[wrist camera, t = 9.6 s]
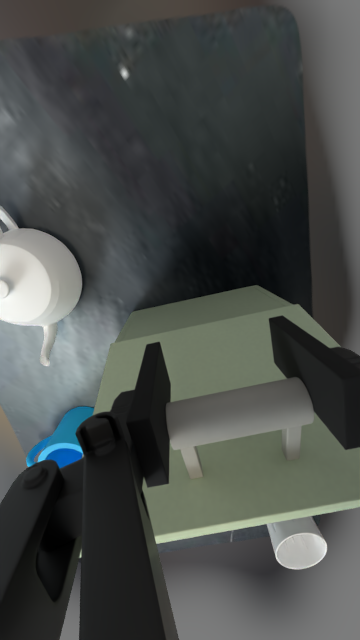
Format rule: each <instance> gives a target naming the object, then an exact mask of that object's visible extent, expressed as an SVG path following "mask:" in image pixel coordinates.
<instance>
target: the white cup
mask: <svg viewBox="0 0 360 640" xmlns="http://www.w3.org/2000/svg"><path fill="white" fill-rule="evenodd" d="M267 528H268V531H269V534H270V538H271V541H272V545H273V548H274V552H275V556H276V559H277V560H278V562H279V563H280V564H281V565H283V566H284V567H287V568H290V569H305V568H308V567H311V566H313V565H315V564H317V563H318V562H320V561H321V560H322V559H323V558H324V556H325V554H326V552H327V544H326V541H325V540H324V538H323V536H322V534H321V532H320V531H319V529H318V527H317V525H316V523H315V522H314V520H313V518H312V516H308V517H302V518H296V519H291V520H285V521H280V522H274V523H269V524H267Z"/></svg>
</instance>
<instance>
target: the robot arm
mask: <svg viewBox="0 0 360 640" xmlns="http://www.w3.org/2000/svg"><path fill="white" fill-rule="evenodd" d="M269 325H270V333H271V341H272V349H273V357H274V363H275V364H276V366H277V367H278V368H279V369H280V371H281V372H282V373H283V374H284V375H285V377H286V378H287V379H288V378H293V377H297V378H299V379H300V380H301V381H302V382H303V383H304V385H305V387H306V388H307V390H308V393H309V395H310V398H311V401H312V404H313V409H314V412H315V413H316V415H317V416H318V417H319V418H320V420H321V421H322V422H323V423H324V424H325V426H326V427H327V428H328V429H329V431H330V432H331V433H332V434H333V435H334V437H335V438H336V439H337V440H338V442H339V443H340V444H341V445H342V446H343V448H344V449H345V450H348V449H354V448H359V447H360V356H359V355H357V354H356V353H354V352H353V351H351V350H348V349H345V348H342V347H334V348H329V347H327V346H326V345H325V344H323V343H322V342H320V341H319V340H317V339H316V338H314V337H313V336H312V335H310V334H309V333H307V332H306V331H304V330H303V329H301V328H300V327H299V326H297V325H296V324H294V323H293V322H291V321H290V320H289V319H287V318H286V317H284V316H283V315H282V316H277V317H272V318H269ZM170 401H171V383H170V379H169V375H168V371H167V368H166V364H165V360H164V356H163V352H162V348H161V344H160V342H155V343H150V344H146V348H145V352H144V356H143V359H142V363H141V367H140V371H139V375H138V379H137V382H136V386H135V390H130V391H125V392H121V393H120V394H119V395H118V396H117V397H116V398H115V400H114V402H113V405H112V407H111V408H112V409H111V410H110V412H101V413H97V414H95V415H93V416H91V417H89V418H87V419H86V420H85V421H83V422H82V423H81V424H80V425H79V427H78V428H77V430H76V433H75V434H76V437H77V439H78V442H79V444H80V447H81V449H82V452H83V454H84V457H83V458H81V459H79V460H78V461H75V462H73V463H71V464H69V465H66V466H64V467H62V468H60V469H59V466H58V464H57V462H56V461H54V460H51V459H50V460H43V461H40V462H38V463H35V464H33V465H32V466H30V467H29V468H27V469H26V470H24V471H23V472H22V473H21V474H20V475H19V476H18V477H17V479H16V480H15V481H14V482H13V484H12V486H11V487H10V489H9V490H8V492H7V494H6V495H5V497H4V499H3V500H2V502H1V504H0V640H59V639H60V635H61V631H62V627H63V623H64V619H65V615H66V610H67V606H68V602H69V598H70V593H71V590H72V586H73V582H74V578H75V573H76V569H77V565H78V561H79V557H80V553H81V589H80V631H79V640H179V638H178V634H177V629H176V625H175V621H174V617H173V612H172V608H171V604H170V600H169V596H168V592H167V588H166V583H165V579H164V575H163V570H162V566H161V562H160V558H159V553H158V549H157V545H156V541H155V537H154V532H153V528H152V524H151V520H150V515H149V511H148V507H147V503H146V499H145V496H144V493H143V490H142V486H143V478H144V479H145V482H146V485H147V488H149V487H155V486H160V485H165V484H169V453H170V439H169V435H168V430H167V423H166V412H165V409H166V404H167V403H169V402H170Z"/></svg>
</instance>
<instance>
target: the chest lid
mask: <svg viewBox="0 0 360 640" xmlns="http://www.w3.org/2000/svg"><path fill="white" fill-rule="evenodd" d="M282 315H283V316H284V317H286V318H287V319H289V320H290V321H291V322H293V323H294V324H296V325H297V326H299V327H300V328H301V329H303V330H304V331H306V332H307V333H309V334H310V335H312V336H313V337H314V338H316V339H317V340H319V341H320V342H322V343H323V344H325V345H326V346H327V347H329V348H334V347H340V345H339V344H338V343H337V342H336V341H335V340H334V339H333V338H332V337H331V336H330V335H329V334H328V333H327V332H325V331H324V329H323V328H322V327H321V326H320V325H319V324H318V323H317V322H316V321H315V320H314V319H313V318H312V317H311V316H310V315H309V314H308V313H307V312H306V311H305V310H304V309H303V308H302V307H301V306H300V305H299V304H296V305H291V306H286V307H281V308H277V309H272V310H267V311H263V312H258V313H253V314H248V315H244V316H239V317H234V318H230V319H225V320H220V321H215V322H211V323H206V324H201V325H197V326H192V327H187V328H182V329H178V330H173V331H168V332H164V333H159V334H154V335H149V336H145V337H140V338H135V339H131V340H126V341H121V342H116V343H112V344H111V345H110V349H109V353H108V357H107V361H106V365H105V369H104V373H103V377H102V381H101V384H100V388H99V392H98V396H97V400H96V404H95V408H94V412H93V415H95V414H97V413H101V412H110V410H111V409H112V408H111V407H112V405H113V402H114V400H115V398H116V397H117V396H118V395H119V394H120V393H121V392H125V391H130V390H135V386H136V382H137V379H138V375H139V371H140V367H141V363H142V359H143V356H144V352H145V348H146V344H150V343H155V342H160V344H161V348H162V352H163V356H164V360H165V364H166V368H167V371H168V375H169V379H170V383H171V401H170V402H169V403H167V404H166V409H165V412H166V423H167V430H168V435H169V439H170V453H169V484H165V485H160V486H155V487H149V488H147V485H146V482H145V479H144V478H143V486H142V490H143V493H144V496H145V499H146V503H147V507H148V511H149V515H150V520H151V524H152V528H153V532H154V537H155V541H156V544H158V543H163V542H169V541H175V540H180V539H186V538H191V537H197V536H202V535H208V534H213V533H219V532H224V531H230V530H236V529H241V528H247V527H252V526H258V525H263V524H269V523H274V522H280V521H285V520H291V519H296V518H302V517H308V516H313V515H319V514H324V513H330V512H335V511H341V510H346V509H352V508H357V507H360V447H359V448H354V449H348V450H345V449H344V448H343V446H342V445H341V444H340V443H339V442H338V440H337V439H336V438H335V437H334V435H333V434H332V433H331V432H330V431H329V429H328V428H327V427H326V426H325V424H324V423H323V422H322V421H321V420H320V418H319V417H318V416H317V415H316V413H315V412H314V409H313V404H312V401H311V398H310V395H309V393H308V390H307V388H306V387H305V385H304V383H303V382H302V381H301V380H300V379H299V378H297V377H293V378H288V379H287V378H286V377H285V375H284V374H283V373H282V372H281V371H280V369H279V368H278V367H277V366H276V364H275V363H274V357H273V349H272V341H271V333H270V325H269V318H272V317H277V316H282ZM83 457H84V454H83V455H82V458H83ZM80 557H81V553H80ZM80 557H79V558H80Z"/></svg>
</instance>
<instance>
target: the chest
mask: <svg viewBox="0 0 360 640" xmlns="http://www.w3.org/2000/svg"><path fill="white" fill-rule="evenodd" d="M291 305H293V304H291V303H289V302H287V301H285V300H284V299H282V298H280V297H278V296H276V295H274V294H273V293H271V292H269V291H267V290H265V289H263V288H262V287H260V286H258V285H254V286H249V287H244V288H240V289H235V290H231V291H226V292H221V293H217V294H212V295H208V296H203V297H198V298H194V299H189V300H184V301H180V302H175V303H171V304H166V305H161V306H157V307H152V308H147V309H143V310H138V311H134V312H132V313H131V314H130V316H129V318H128V320H127V321H126V323H125V325H124V327H123V329H122V330H121V332H120V334H119V336H118V337H117V339H116V341H115V343H116V342H121V341H126V340H131V339H135V338H140V337H145V336H149V335H154V334H159V333H164V332H168V331H173V330H178V329H182V328H187V327H192V326H197V325H201V324H206V323H211V322H215V321H220V320H225V319H230V318H234V317H239V316H244V315H248V314H253V313H258V312H263V311H267V310H272V309H277V308H281V307H286V306H291Z"/></svg>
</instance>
